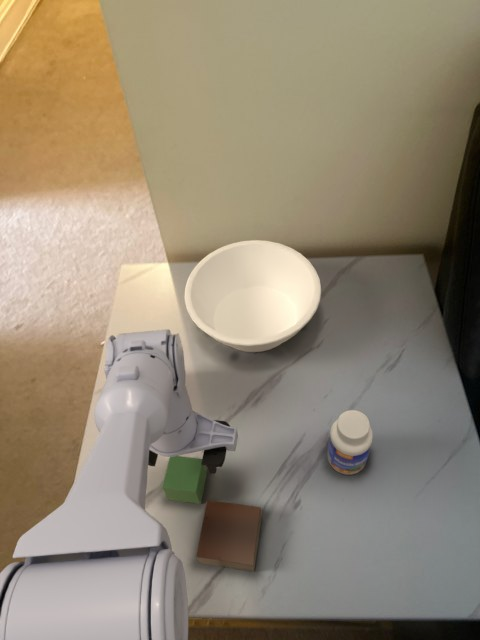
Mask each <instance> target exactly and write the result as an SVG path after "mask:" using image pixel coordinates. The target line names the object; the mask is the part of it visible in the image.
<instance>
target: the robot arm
mask: <svg viewBox="0 0 480 640" xmlns="http://www.w3.org/2000/svg"><path fill="white" fill-rule="evenodd" d="M104 374H105V381H104V384H103V386H102V389H101V391H100V394H99V396H98V399H97V402H96V404H95V406H94V411H93V417H94V418H93V419H94V423H95V427H96V428H97V430H98V432H99V433H98V436H97V437H96V439H95V441H94V443H93V445H92V447H91V449H90V450H89V453H88V455H87V456H86V459H85V460H84V462H83V464H82V466H81V469H80V471H79V473H78V474H77V476H76V478H75V480H74V482H73V484H72V486H71V488H70V490H69V492H68V494H67V496H66V498H65V500H64V501H63V503H62V504H61V505H60V506H59V507H57V508H56V509H55V510H53V511H52V512H51V513H49V514H48V515H47V516H46V517H44V518H43V519H41V520H40V521H39V522H38V523H36V524H35V525H34V526H33V527H31V528H30V529H29V530H27V531H25V532H24V533H23V534H22V535H21V536H20V537H19V538H18V540H17V542H16V546H15V548H14V552H13V554H12V559H22V558H25V559H24V561H14V562H12V563H9V564H7V566H5V567H4V568H3V569H2V570H1V572H0V640H189V601H188V599H189V598H188V588H187V587H188V586H187V579H186V572H185V568H184V564H183V562H182V560H181V559H180V558H179V556H177V555H176V553H175V552H174V550H173V547H172V541H171V538H170V535H169V533H168V530H167V529H166V527H165V526H164V524H162V523H161V522H160V521H159V520H158V519H156V518H155V516H153V515H152V514H150V513H149V512H148V511H147V510H146V501H147V489H148V488H147V486H148V475H149V474H148V472H149V467H156V464H157V461H158V457H159V456H160V457H166V458H170V457H174V456H184V455H188V454H189V455H190V454H192V453H198V452H203V454H202V458H201V459H202V463H201V465H204V466H205V467H206V469H207V473H209V474H213V475H215V474H216V473H217V468H222V467H223V465H224V463H225V460H226V456H227V451H228V452H229V451H230V452H236V449H237V445H238V438H239V434H238V427H234V426H231V425H230V424H229V422H227V421H226V420H218V419H213V418H210V417H208V416H205V415H204V414H201V413H199V412H197V411H195V410H194V409H193V406H192V405H193V404H192V402H191V399H190V396H189V392H188V389H187V385H186V366H185V354H184V347H183V342H182V339H181V337H180V333H179V332H178V333H175V334H172V332H171V330H170V329H169V328H166V329H156V330H146V331H145V330H144V331H136V332H135V331H133V332H126V333H125V332H124V333H118V334H117V335H116V336H115V335H114V334H113V335H112V334H111V335H110V336H109V337H108V338H107V341H106V348H105V362H104Z"/></svg>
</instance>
